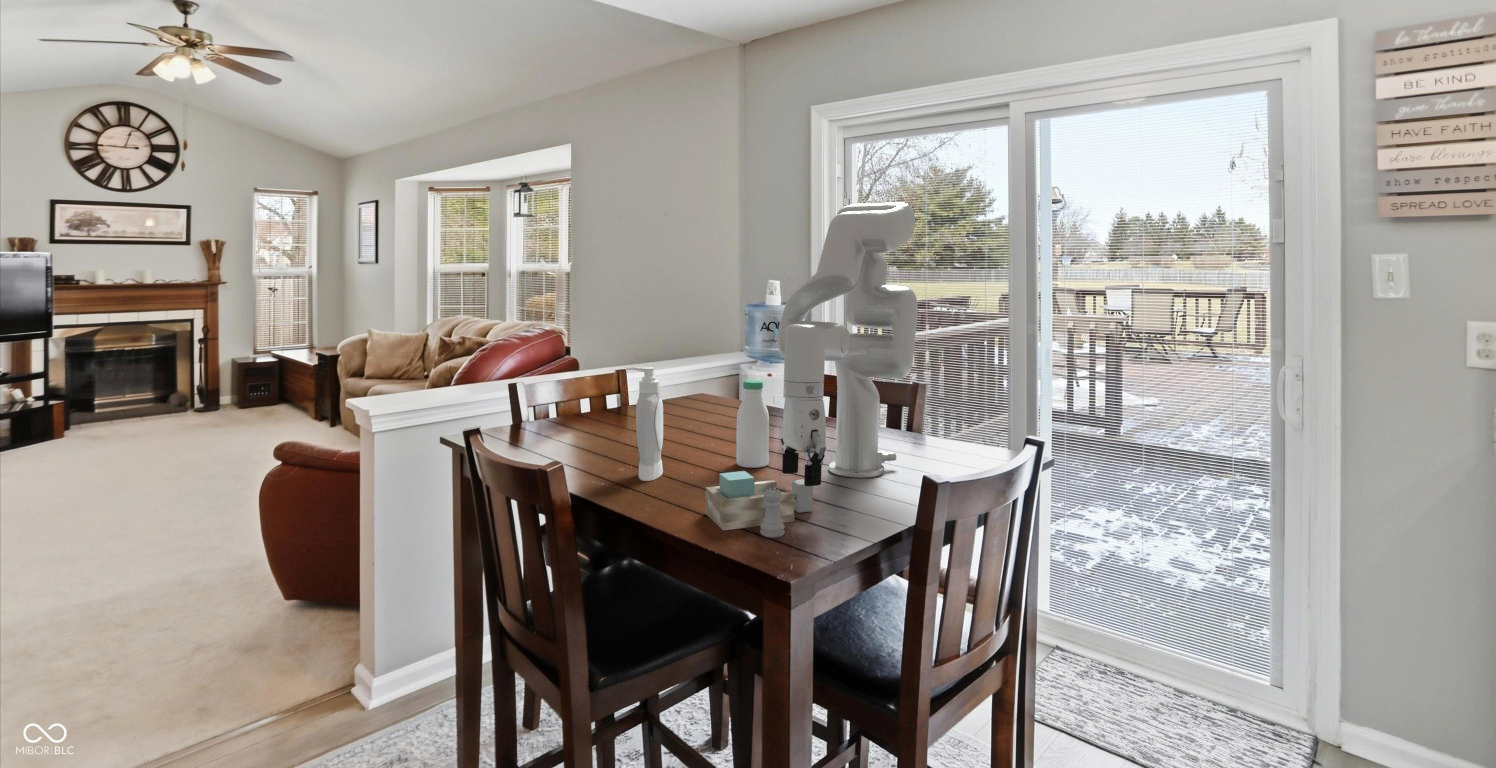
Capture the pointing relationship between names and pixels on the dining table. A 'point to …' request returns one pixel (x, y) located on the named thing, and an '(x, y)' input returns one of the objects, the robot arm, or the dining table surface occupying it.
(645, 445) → the soap bottle
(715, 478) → the dining table surface
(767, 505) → the rook chess piece
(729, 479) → the cube dumbbell
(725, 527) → the beige wooden open box
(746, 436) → the milk bottle
